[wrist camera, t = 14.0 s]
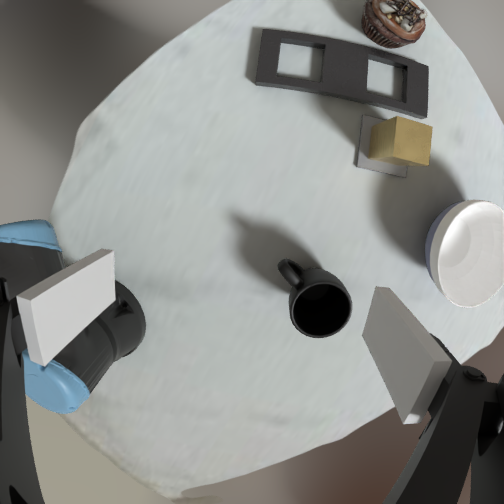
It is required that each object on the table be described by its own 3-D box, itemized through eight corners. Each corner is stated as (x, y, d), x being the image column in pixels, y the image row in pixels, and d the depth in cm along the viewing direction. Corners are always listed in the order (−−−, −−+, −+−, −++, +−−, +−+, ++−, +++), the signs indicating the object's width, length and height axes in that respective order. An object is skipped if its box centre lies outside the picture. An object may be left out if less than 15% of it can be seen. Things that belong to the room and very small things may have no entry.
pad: (356, 167, 43) (357, 166, 42) (362, 115, 40) (363, 114, 40) (404, 177, 42) (405, 177, 42) (409, 127, 40) (411, 127, 40)
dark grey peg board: (256, 85, 40) (255, 81, 38) (263, 34, 38) (262, 28, 36) (421, 119, 40) (427, 117, 38) (423, 69, 37) (428, 66, 35)
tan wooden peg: (368, 158, 42) (393, 156, 32) (371, 126, 40) (396, 116, 31) (398, 165, 41) (428, 165, 32) (401, 134, 40) (432, 126, 30)
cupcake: (418, 29, 35) (444, 6, 26) (397, 64, 38) (423, 44, 28) (370, -4, 34) (388, -33, 25) (346, 30, 37) (361, 1, 27)
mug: (302, 229, 46) (310, 244, 36) (348, 287, 47) (364, 313, 38) (259, 263, 47) (256, 286, 38) (307, 317, 49) (314, 349, 40)
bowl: (392, 257, 46) (417, 277, 36) (440, 174, 42) (473, 177, 32) (451, 300, 47) (478, 323, 38) (494, 227, 43) (527, 239, 34)
